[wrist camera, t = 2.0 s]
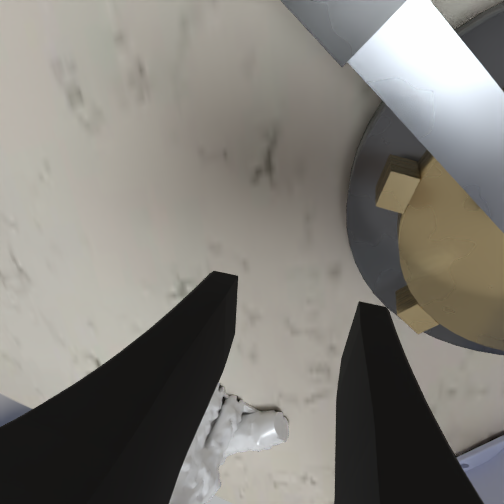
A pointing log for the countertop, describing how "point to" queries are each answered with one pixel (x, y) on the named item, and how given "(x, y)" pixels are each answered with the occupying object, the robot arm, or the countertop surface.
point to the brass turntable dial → (431, 157)
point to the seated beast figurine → (224, 444)
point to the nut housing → (408, 146)
